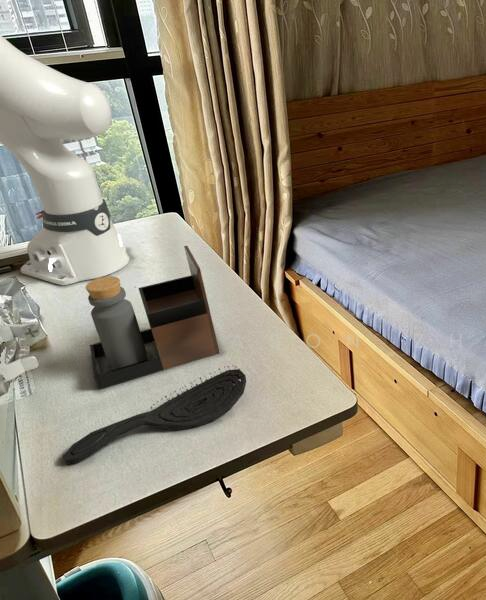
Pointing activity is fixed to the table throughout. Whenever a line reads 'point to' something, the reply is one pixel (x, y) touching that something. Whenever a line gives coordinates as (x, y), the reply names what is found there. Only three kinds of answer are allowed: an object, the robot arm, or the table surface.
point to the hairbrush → (185, 408)
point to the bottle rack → (168, 328)
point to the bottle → (115, 323)
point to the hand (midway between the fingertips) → (37, 343)
